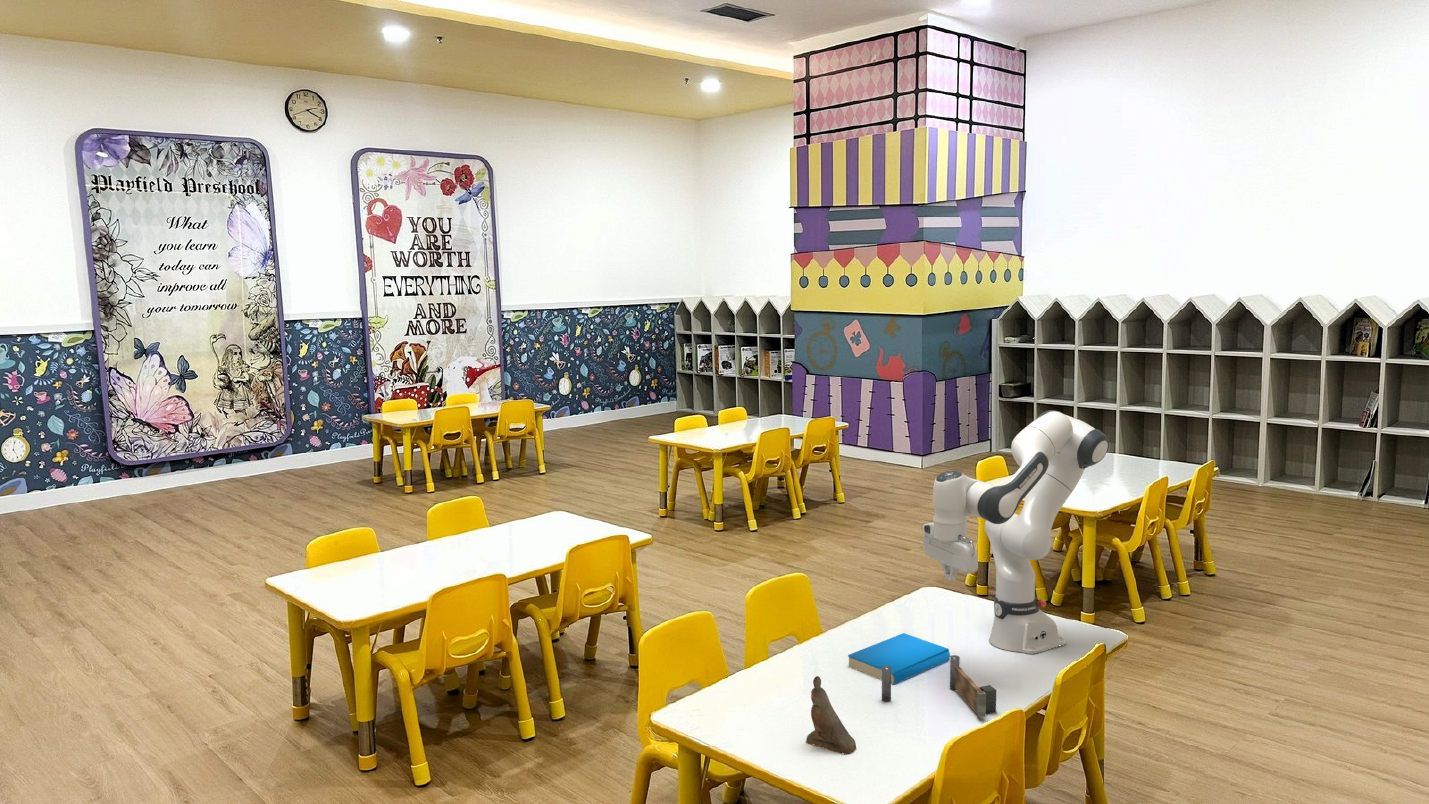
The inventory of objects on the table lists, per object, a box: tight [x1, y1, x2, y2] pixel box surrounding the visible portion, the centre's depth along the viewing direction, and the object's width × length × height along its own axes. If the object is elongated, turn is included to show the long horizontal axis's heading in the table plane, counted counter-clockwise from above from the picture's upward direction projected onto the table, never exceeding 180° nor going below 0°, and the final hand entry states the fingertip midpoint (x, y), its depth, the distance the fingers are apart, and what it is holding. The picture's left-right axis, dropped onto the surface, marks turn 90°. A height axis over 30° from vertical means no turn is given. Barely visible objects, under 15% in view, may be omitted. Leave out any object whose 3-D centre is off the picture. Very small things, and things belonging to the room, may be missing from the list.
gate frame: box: [881, 654, 998, 715], centre depth 250 cm, size 24×17×9 cm
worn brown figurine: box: [805, 675, 857, 755], centre depth 230 cm, size 12×6×18 cm, turn 52°
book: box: [847, 632, 951, 685], centre depth 277 cm, size 17×4×25 cm
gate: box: [955, 665, 987, 718], centre depth 249 cm, size 17×2×6 cm, turn 7°
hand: (950, 579), depth 265 cm, fingers closed
